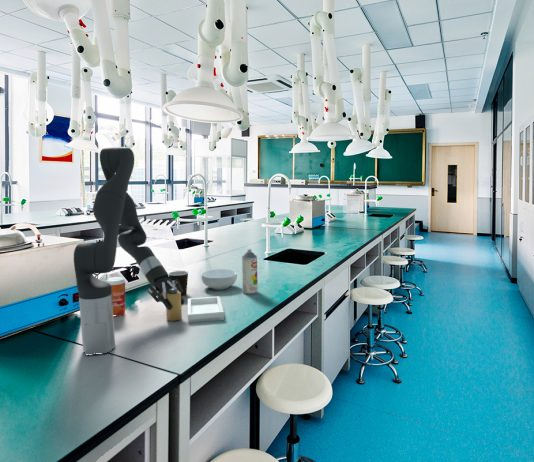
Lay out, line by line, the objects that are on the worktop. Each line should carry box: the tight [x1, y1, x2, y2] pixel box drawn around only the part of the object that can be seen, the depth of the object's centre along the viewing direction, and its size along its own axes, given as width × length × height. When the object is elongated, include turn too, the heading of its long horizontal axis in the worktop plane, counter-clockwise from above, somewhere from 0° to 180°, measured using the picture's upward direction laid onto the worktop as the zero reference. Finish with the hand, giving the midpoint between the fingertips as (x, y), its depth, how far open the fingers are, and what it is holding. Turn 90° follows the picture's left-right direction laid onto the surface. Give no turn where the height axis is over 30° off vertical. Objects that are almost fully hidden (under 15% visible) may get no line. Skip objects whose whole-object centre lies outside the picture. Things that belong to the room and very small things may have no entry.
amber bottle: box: [165, 288, 183, 322], centre depth 148 cm, size 6×6×11 cm
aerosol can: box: [241, 248, 259, 296], centre depth 181 cm, size 7×7×20 cm
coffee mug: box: [168, 270, 189, 297], centre depth 180 cm, size 12×9×10 cm
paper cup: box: [105, 276, 127, 316], centre depth 154 cm, size 8×8×14 cm
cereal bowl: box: [201, 268, 238, 291], centre depth 191 cm, size 17×17×7 cm
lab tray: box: [187, 296, 225, 323], centre depth 156 cm, size 20×13×3 cm, turn 11°
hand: (177, 306), depth 147 cm, fingers closed on amber bottle, 5 cm apart
